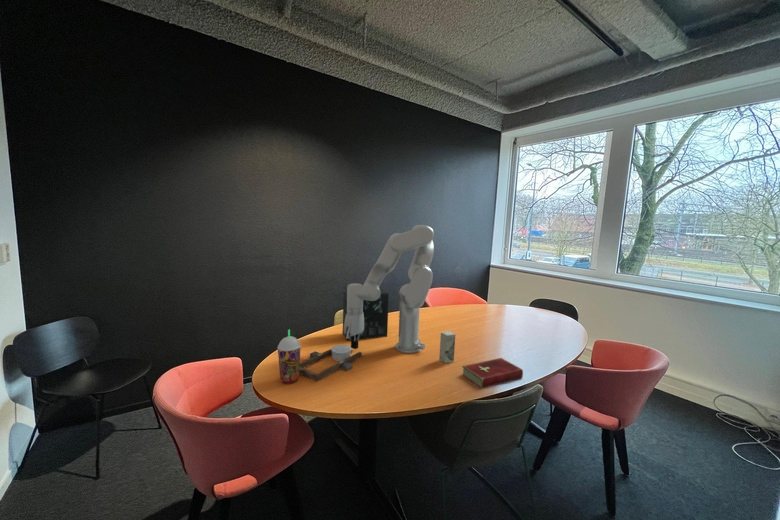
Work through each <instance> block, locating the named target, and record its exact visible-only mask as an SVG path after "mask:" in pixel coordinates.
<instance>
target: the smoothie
mask: <svg viewBox="0 0 780 520" xmlns="http://www.w3.org/2000/svg"><path fill="white" fill-rule="evenodd" d="M301 346H302V344H301V343H300V340H299V339H297V337H295V336H292V335H291V329H287V336H286V337H283V338H282V339H281V340H280V342H279V344H278V345H277V353H278V355H277V357H278V366H279V379H280V380H281V382H282V383H283V384H294V383H295V382H297V381H298V379H299V378H300V374H299V366H300V363H301V362H300V361H301Z"/></svg>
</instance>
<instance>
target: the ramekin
mask: <svg viewBox="0 0 780 520" xmlns="http://www.w3.org/2000/svg"><path fill="white" fill-rule="evenodd" d="M330 349H331V351H332V355H331V356H332V357H331V358H332V359H333V360H334V361H336V360H338V361H337V362H339V361H341V360H345V359H346V358H348V357H350V356H351V353H352V348H351V345H346V344H336V345H334V346H332V347H331V348H330Z"/></svg>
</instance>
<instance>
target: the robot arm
mask: <svg viewBox="0 0 780 520" xmlns="http://www.w3.org/2000/svg"><path fill="white" fill-rule="evenodd" d="M434 238H435V232H434V229H433V228H432V227H431V226H429V225H426V224H417V225H414V226H413V227H412V229H411V230H407V231H405V232H402V233H400V232H395V233H393V234H392V235H390V237H389V238H388V240H387V242H386V243H385V246H384V247H383V249H382V251H381V253H380V256H378V259H377V260H376V262H375V263H374V265H373V267H372V268H371V270H370V271H369V273H368V276H367V277H366V279H365V280H364V283H363V284H362V283H350V284H348V285H347V287H346V290H347V314H346V316H345V322H344V334H345V335H346V334H347V336H346V338H347V339H350V340H349V341H350V347H351V349H353V350H357V349H359V340H360V339H359V336H360V334H362V333H363V331H364V314H363V300H367V301H375V300H377V299H378V298H379V297H380V295H381V292H380V289H381V288H380V286H381V284H382V283H383V281H384V279H385V277H386V276H387V275H388V274H389V273H391V272H392V271H393V270H394V269H395V267H396V265H397V264H398V262H399V259H400V258H401V256H402V254H403V253H407V252H411V251H413V250H415V251H414V255H413V258H412V261H411V264H410V266H409V268H408V274H407V275H408V278H409V279H410V282H409V283H406V284H404V285H402V286H401V287H400V289H399V291H398V302H399V306H398V308H399V310H398V311H399V312H398V313H399V314H398V316H399V317H398V318H399V319H398V342H397V343H395V346H394V347H395V349H396V350H397V351H398V352H400V353H405V354H414V353H416V354H417V353H418V352H420V351H422V350H423V351H424V350H425V349H426V344H425V343H421V339H419V330H420V329H419V328H420V327H419V325H420V308H422V307H423V305H424V304H425V302H426V300H427V297H428V294H429V291H430V288H431V286H432V283H433V279H434V274H433V271H432V269H431V268H430V266H431V265H432V261H433V258H434V254H435V253H434V252H435V245H434V241H433V240H434ZM346 338H345V339H346Z"/></svg>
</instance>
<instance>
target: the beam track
mask: <svg viewBox="0 0 780 520" xmlns="http://www.w3.org/2000/svg"><path fill="white" fill-rule="evenodd" d="M331 354H332V351H331V348H330V349H328V350H326V351H323V352H319V351H313V352H311V353H309V358H308V359H306V360H304V361H302V362H300V366H299V376H303V377H306V378H308V379H310V380H313V381H315V382H318V381H320V380H322V379H324V378H326V377H328V376H330V375H332V374H333V373H335V372H337V371H338V369H339V370H342V369H343V371H345V370H346V372H348V371H350V370H352V369H353V362H355V361H357V360H359V359H360V357H361V358H362V357H363V352H361V351H358V352H356V353H355V354H352V355H350V357H348V358H346V359H345V360H341V361H337V363H335V364H334V365H331V366H330V367H328V368H326V369H324V370H322V371H320V372H318V373H316V372H313V371H312V370H308V369H306V368H307V367H309V366H311V365H313V364H315V363H317V362H319V361H321V359H322V360H324V359H326V358H328V357H330V356H332V355H331ZM329 355H330V356H329ZM327 356H328V357H327ZM325 357H326V358H325ZM323 358H324V359H323ZM358 358H359V359H358ZM356 359H357V360H356ZM308 365H309V366H308ZM340 368H341V369H340ZM336 370H337V371H336ZM329 374H330V375H329Z"/></svg>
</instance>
